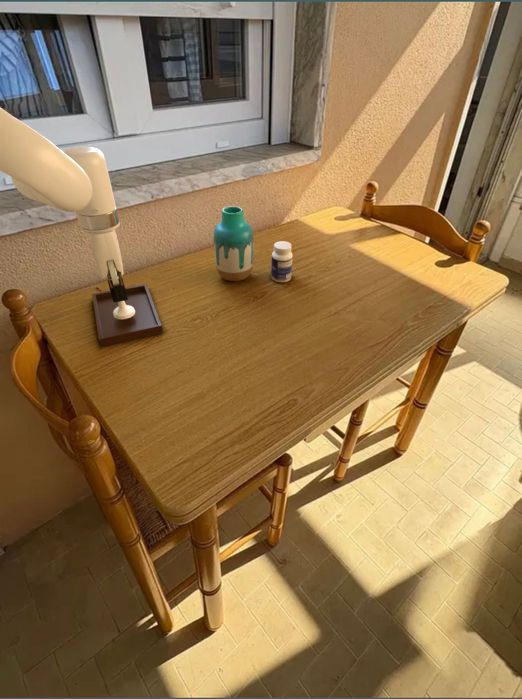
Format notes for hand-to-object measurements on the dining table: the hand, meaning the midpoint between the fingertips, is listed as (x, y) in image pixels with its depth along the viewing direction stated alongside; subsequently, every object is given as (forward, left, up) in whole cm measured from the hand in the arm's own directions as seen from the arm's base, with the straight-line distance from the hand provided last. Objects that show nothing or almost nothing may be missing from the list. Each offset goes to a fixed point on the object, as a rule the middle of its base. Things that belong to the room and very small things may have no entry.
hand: (119, 296), depth 87 cm
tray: (0, +2, -7) cm, 7 cm away
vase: (+31, +9, -7) cm, 33 cm away
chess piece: (0, 0, -5) cm, 5 cm away
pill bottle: (+43, +4, -7) cm, 44 cm away
